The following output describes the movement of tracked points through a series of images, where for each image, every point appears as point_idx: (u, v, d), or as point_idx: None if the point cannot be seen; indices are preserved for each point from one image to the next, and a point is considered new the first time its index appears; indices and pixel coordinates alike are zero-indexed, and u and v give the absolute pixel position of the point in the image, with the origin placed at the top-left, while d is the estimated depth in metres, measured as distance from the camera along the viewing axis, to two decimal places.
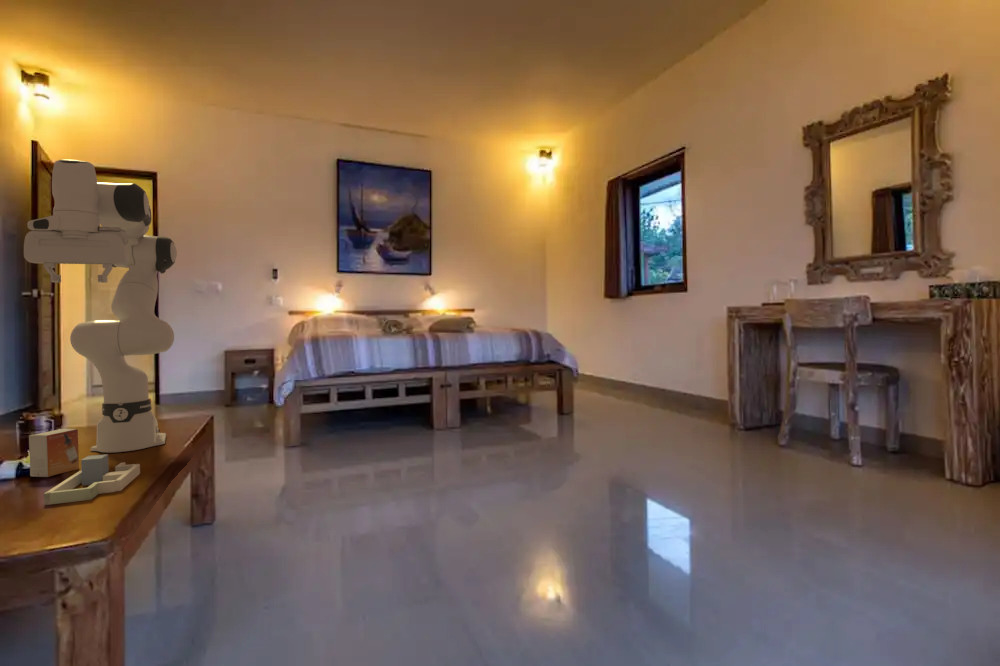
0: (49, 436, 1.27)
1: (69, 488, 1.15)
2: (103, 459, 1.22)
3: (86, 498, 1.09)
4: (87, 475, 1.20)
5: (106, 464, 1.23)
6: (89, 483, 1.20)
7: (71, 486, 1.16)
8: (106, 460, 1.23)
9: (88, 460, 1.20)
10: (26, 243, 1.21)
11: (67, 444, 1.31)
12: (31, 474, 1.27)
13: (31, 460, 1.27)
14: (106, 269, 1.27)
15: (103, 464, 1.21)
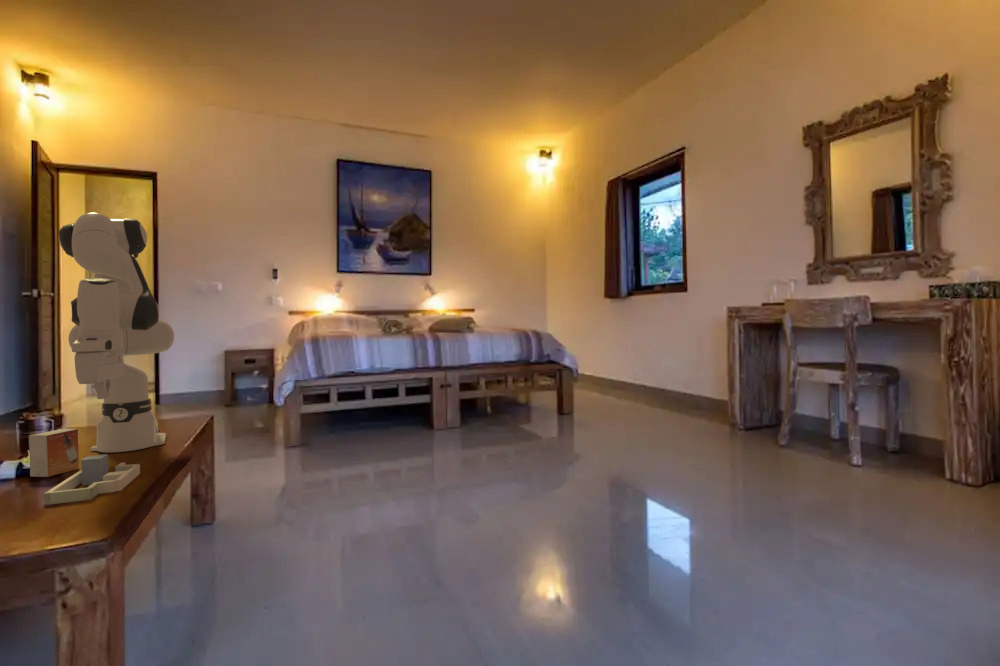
0: (49, 436, 1.27)
1: (69, 488, 1.15)
2: (103, 459, 1.22)
3: (86, 498, 1.09)
4: (87, 475, 1.20)
5: (106, 464, 1.23)
6: (89, 483, 1.20)
7: (71, 486, 1.16)
8: (106, 460, 1.23)
9: (88, 460, 1.20)
10: (98, 365, 1.20)
11: (67, 444, 1.31)
12: (31, 474, 1.27)
13: (31, 460, 1.27)
14: (110, 384, 1.30)
15: (103, 464, 1.21)
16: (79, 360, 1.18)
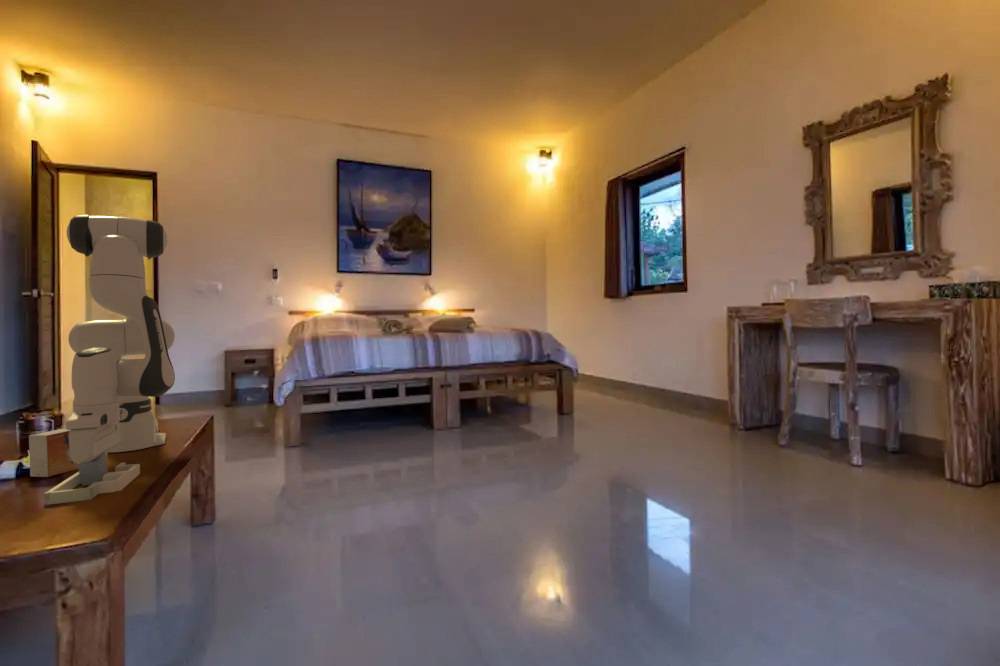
0: (49, 436, 1.27)
1: (69, 488, 1.15)
2: (100, 460, 1.20)
3: (86, 498, 1.09)
4: (85, 477, 1.19)
5: (103, 463, 1.22)
6: (89, 483, 1.20)
7: (71, 486, 1.16)
8: (103, 459, 1.22)
9: (85, 463, 1.18)
10: (93, 442, 1.16)
11: (67, 444, 1.31)
12: (31, 474, 1.27)
13: (31, 460, 1.27)
14: (106, 456, 1.26)
15: (100, 465, 1.20)
16: (73, 438, 1.15)
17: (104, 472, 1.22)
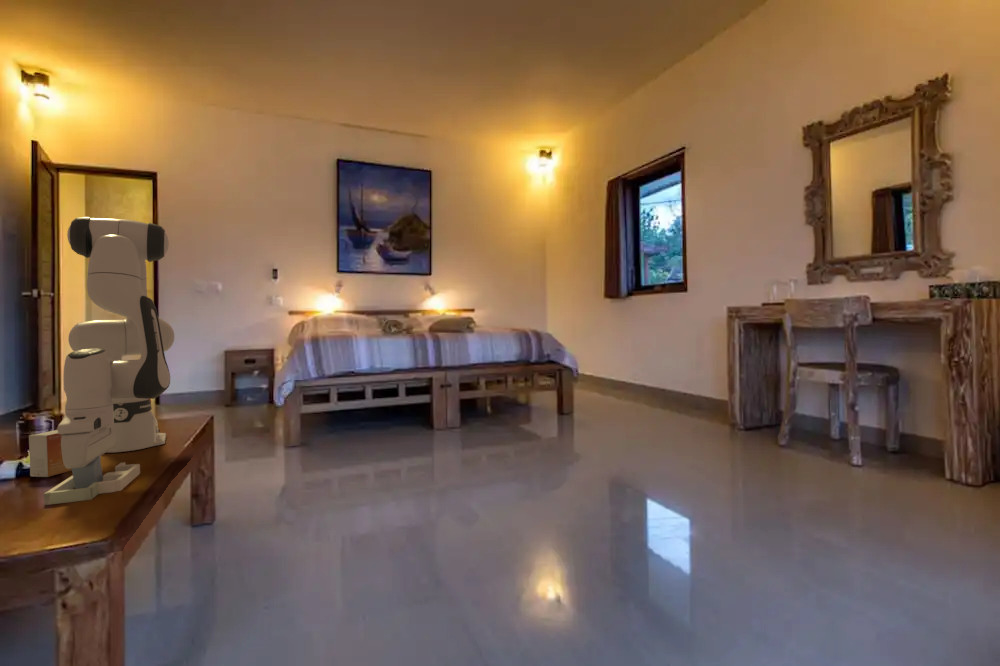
0: (49, 436, 1.27)
1: (69, 488, 1.15)
2: (95, 465, 1.16)
3: (86, 498, 1.09)
4: (80, 481, 1.16)
5: (98, 467, 1.18)
6: None
7: (71, 486, 1.16)
8: (98, 463, 1.18)
9: (79, 468, 1.15)
10: (87, 447, 1.12)
11: None
12: (31, 474, 1.27)
13: (31, 460, 1.27)
14: (100, 461, 1.22)
15: (95, 470, 1.17)
16: (66, 443, 1.11)
17: (99, 476, 1.19)
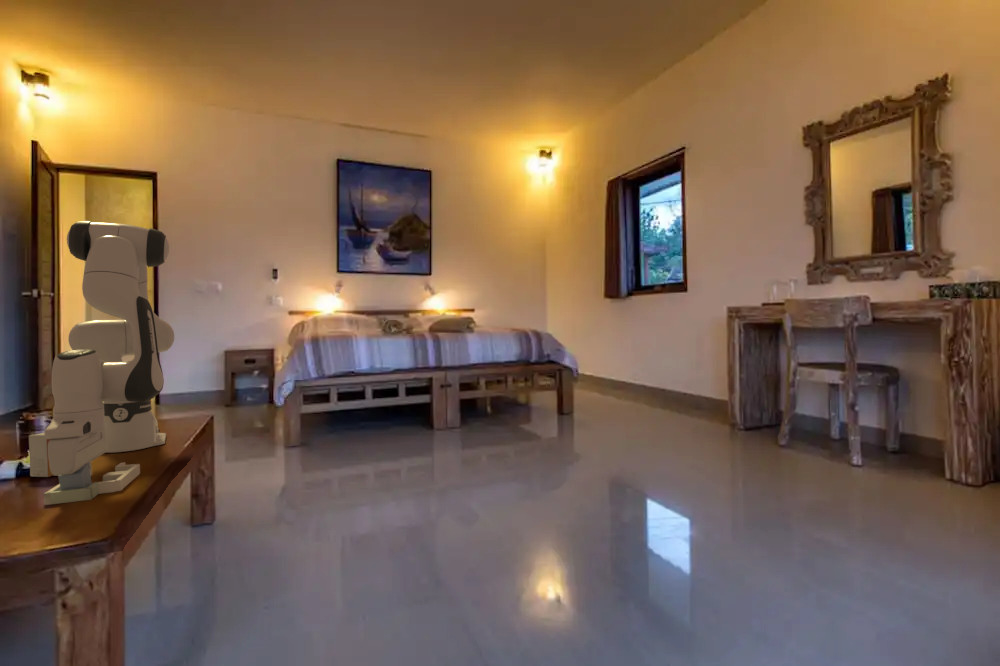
0: None
1: None
2: (83, 472, 1.10)
3: (86, 498, 1.09)
4: None
5: (87, 475, 1.12)
6: None
7: None
8: (87, 471, 1.12)
9: (66, 476, 1.08)
10: (75, 453, 1.07)
11: None
12: (31, 474, 1.27)
13: (31, 460, 1.27)
14: (90, 467, 1.17)
15: (83, 478, 1.10)
16: (53, 449, 1.05)
17: (88, 485, 1.12)
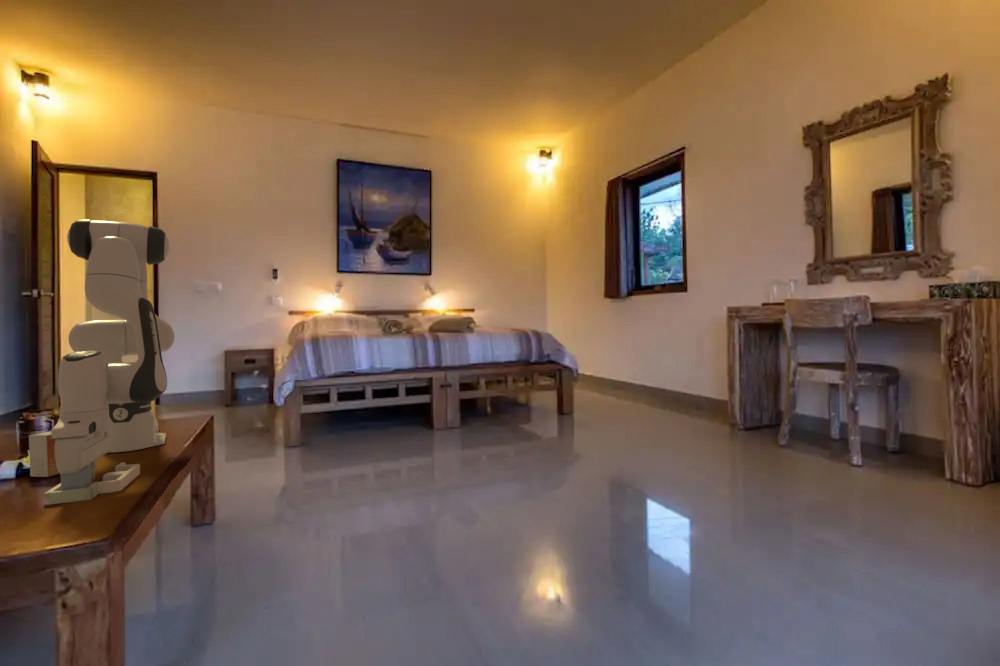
0: (49, 436, 1.27)
1: None
2: (85, 471, 1.11)
3: (86, 498, 1.09)
4: None
5: (88, 477, 1.13)
6: None
7: None
8: (88, 473, 1.13)
9: (68, 473, 1.09)
10: (81, 452, 1.10)
11: None
12: (31, 474, 1.27)
13: (31, 460, 1.27)
14: (95, 465, 1.20)
15: (85, 477, 1.11)
16: (60, 448, 1.08)
17: None
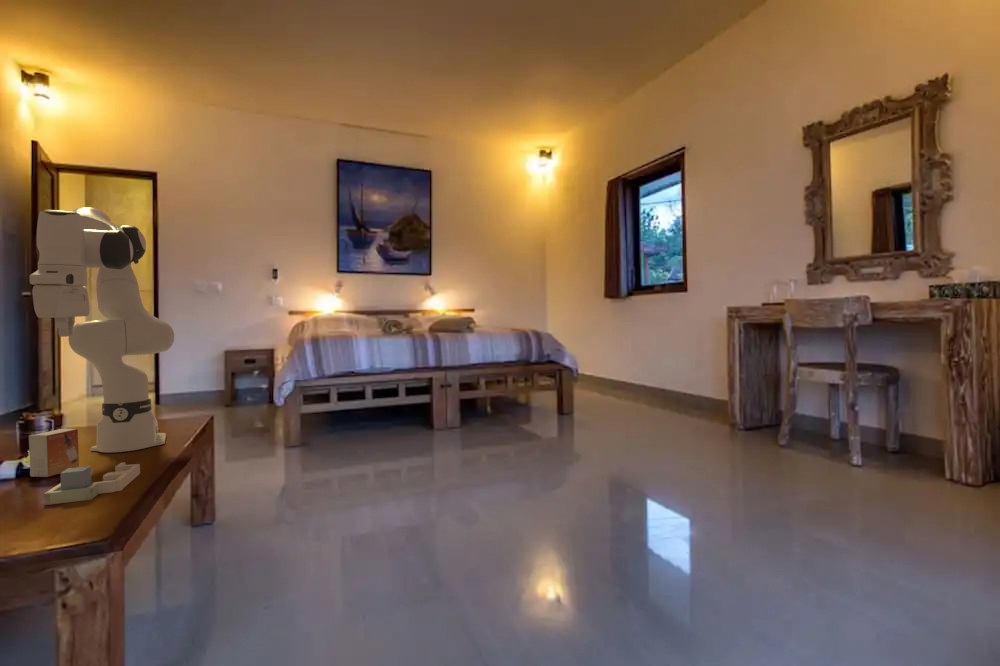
0: (49, 436, 1.27)
1: None
2: (85, 471, 1.11)
3: (86, 498, 1.09)
4: None
5: (88, 477, 1.13)
6: None
7: None
8: (88, 473, 1.13)
9: (68, 473, 1.09)
10: (58, 298, 1.14)
11: (67, 444, 1.31)
12: (31, 474, 1.27)
13: (31, 460, 1.27)
14: (73, 322, 1.24)
15: (85, 477, 1.11)
16: (37, 292, 1.13)
17: None
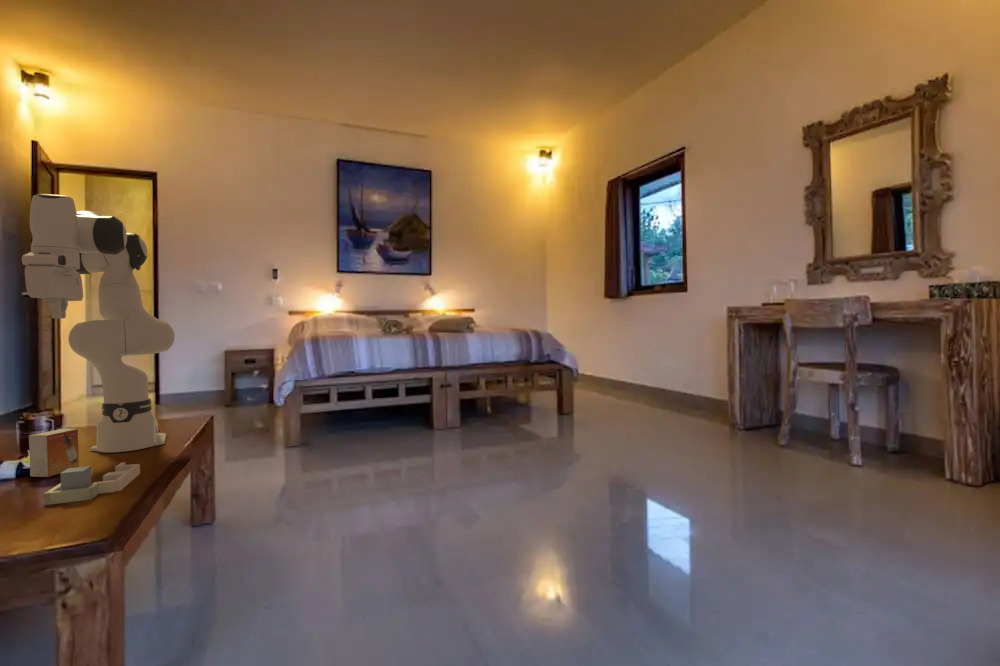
0: (49, 436, 1.27)
1: None
2: (85, 471, 1.11)
3: (86, 498, 1.09)
4: None
5: (88, 477, 1.13)
6: None
7: None
8: (88, 473, 1.13)
9: (68, 473, 1.09)
10: (50, 278, 1.16)
11: (67, 444, 1.31)
12: (31, 474, 1.27)
13: (31, 460, 1.27)
14: (66, 305, 1.26)
15: (85, 477, 1.11)
16: (29, 272, 1.14)
17: None
